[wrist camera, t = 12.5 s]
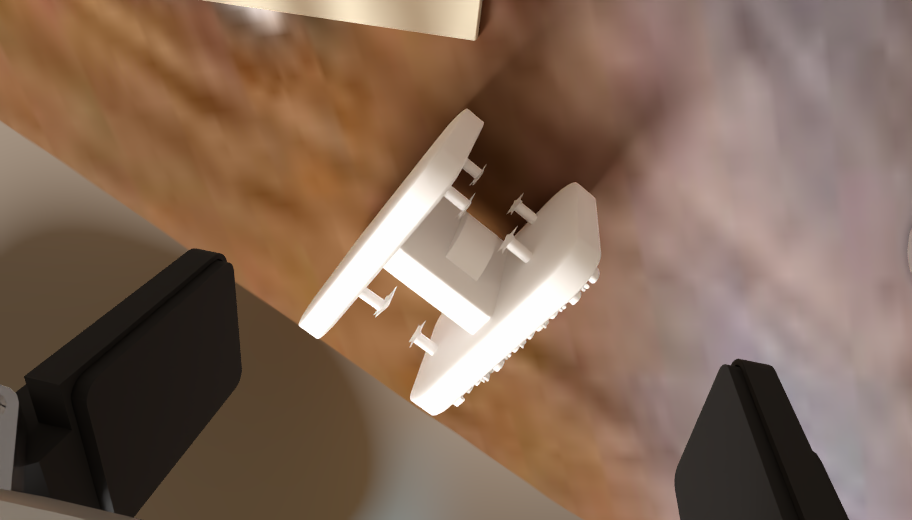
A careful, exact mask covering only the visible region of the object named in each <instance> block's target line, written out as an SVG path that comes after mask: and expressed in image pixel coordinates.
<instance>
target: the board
mask: <svg viewBox="0 0 912 520" xmlns="http://www.w3.org/2000/svg"><path fill="white" fill-rule="evenodd" d="M205 1H211V2H218V3H225V4H232V5H238V6H245V7H252V8H259V9H265V10H272V11H279V12H285V13H292V14H299V15H306V16H312V17H319V18H326V19H333V20H339V21H346V22H353V23H360V24H366V25H373V26H380V27H386V28H393V29H400V30H407V31H413V32H420V33H427V34H434V35H440V36H447V37H454V38H461V39H467V40H474V41H475V40H476V39H477V38H478V32H479V24H480V16H481V8H482V0H205Z"/></svg>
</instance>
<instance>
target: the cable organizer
mask: <svg viewBox="0 0 912 520" xmlns="http://www.w3.org/2000/svg"><path fill="white" fill-rule="evenodd" d="M483 125H484V122H483V121H482V120H481V119H479V118H478V117H477V116H476V115H475V114H473V113H472V112H471V111H470V110H469V109H465V110H463V111H462V112H461V113H460V114H458V115H457V116H456V117H455V118H454V119H453V121H452V122H451V123H450V124H449V125H448V126H447V127H446V128H445V130H444V131H443V132H442V133H441V135H440V136H439V137H438V138H437V140H436V141H435V142H434V143H433V145H432V146H431V147H430V148H429V150H428V151H427V152H426V153H425V155H424V156H423V157H422V159H421V160H420V161H419V162H418V164H417V165H416V166H415V167H414V169H413V170H412V171H411V172H410V174H409V175H408V176H407V177H406V179H405V180H404V181H403V183H402V184H401V185H400V186H399V188H398V189H397V190H396V191H395V193H394V194H393V195H392V196H391V198H390V199H389V200H388V201H387V203H386V204H385V205H384V207H383V208H382V209H381V210H380V212H379V213H378V214H377V215H376V217H375V218H374V219H373V220H372V222H371V223H370V224H369V225H368V227H367V228H366V229H365V231H364V232H363V233H362V234H361V236H360V237H359V238H358V239H357V241H356V242H355V243H354V245H353V246H352V247H351V249H350V250H349V252H348V253H347V254H346V256H345V257H344V258H343V260H342V261H341V262H340V264H339V265H338V266H337V268H336V269H335V270H334V272H333V273H332V275H331V276H330V277H329V279H328V280H327V281H326V283H325V284H324V285H323V287H322V288H321V289H320V291H319V292H318V293H317V295H316V296H315V298H314V299H313V300H312V302H311V303H310V305H309V306H308V308H307V309H306V311H305V312H304V314H303V316H302V318H301V320H300V322H299V326H300V327H301V328H303V329H304V330H305V331H307V332H308V333H310V334H311V335H313V336H314V337H315V338H317V339H319V338H321V337H322V336H323V335H325V334H326V333H327V332H328V331H329V330H330V329H331V328H332V327H333V326H334V325H335V323H336V322H337V321H338V320H339V319H340V318H341V316H342V315H343V314H344V313H345V312H346V311H347V309H348V308H349V307H350V306H351V305H352V304H353V302H354V301H355V300H356V299H357V298H358V297H360V298H361V299H362V300H364V301H365V302H367V303H368V304H370V305H371V306H372V307H374V308H375V309H377V311H376V312H375V313H374V315H375V314H376V313H377V314H376V316H378V315H379V314H380V313H381V312H382V311H383V310H385V309H386V308H387V307H388V306H389V304H390V302H391V299H392V297H393V295H394V292H395V290H396V288H395V289H394V290H393V291H392V292H391V293H390V295H388V296H386V298H385V299H384V300H383V299H382V298H381V297H379V296H378V295H376V294H375V293H374V292H372V291H371V290H369V289H368V288H367V286H368V285H369V284H370V282H371V281H372V280H373V279H374V278H375V277H376V275H377V274H378V273H379V272H380V271H381V270H382V268H384V269H386V270H387V271H388V272H389V273H390V274H392V275H393V276H394V277H395V278H397V279H398V280H400V281H401V282H402V283H404V284H405V285H406V286H408V287H409V288H410V289H412V290H413V291H414V292H416V293H417V294H418V295H420V296H421V297H422V298H424V299H425V300H426V301H428V303H430V304H432V305H433V306H434V307H436V308H437V309H438V310H440V311H441V312H442V314H441V315H440V317H439V319H438V321H437V323H436V325H435V328H434V331H433V333H432V336H431V339H429V338H427V337H426V336H425V335H423V334H422V333H421V329H422V327H423V325H424V324H425V322H426V321H425V322H424V323H423V324H422V325H421V326H418V328H417V329H416V331H415V333H414V334H413V336H412V338H411V339H410V341H409V342H411V341H412V342H411V345H412V344H413V342H414V343H415V344H417V345H418V346H419V347H421V348H422V349H424V350H425V351H426V353H425V355H424V358H423V361H422V364H421V367H420V369H419V372H418V375H417V378H416V380H415V383H414V386H413V389H412V391H411V395H410V399H411V401H413V402H414V403H415V404H417V405H418V406H420V407H421V408H422V409H424V410H425V411H427V412H428V413H429V414H431V415H437V414H440V413H442V412H443V411H445V410H446V409H447V408H449V407H450V406H451V405H452V404H454V405H455V406H457V407H458V406H459V405H460V404H461V403H462V402H463V401H464V400H465V398H463V395H464V394H465V393H466V392H467V393H470V392H471V390H472V389H473V386H474V385H476V386H478V385H479V384H480V382H481V381H482V382H483V383H484V382H485V380H486V381H489V377H490V373H492V372H493V371H494V370H495V371H496V372H498V371H499V370H500V369H501V368H502V367H503V365H504V362H505V359H506V360H507V359H508V357H511V352H512V351H513V352H514V353H515V352H516V351H517V350H518V349H519V347H522V348H524V344H525V343H526V339H527V338H528V339H531V338H532V337H533V335H534V333H535V331H536V330H537V331H540V330H541V329H542V328H543V327H544V328H546V325H547V324H548V323H549V321H548V319H549V318H551V319H554V318H555V317H556V315H557V313H558V311H560V312H562V309H565V308H566V305H565V304H566V303H568V302H570V303H571V304H572V305H574V304H575V303H577V302H578V301H579V299H580V297H581V291H580V290H582V291H583V292H584V291H585V288H586V289H588V288H589V285H588V284H587V281H588V280H589V281H590V282H591V283H595V282H596V281H597V279H598V278H599V269H598V268H597V266H598V264H599V261H600V258H601V248H600V237H599V227H598V216H597V206H596V199H595V197H594V196H592V195H591V194H590V193H589V192H588V191H586V190H585V189H584V188H583V187H582V186H581V185H579V184H578V183H577V182H573V183H571V184H569V185H567V186H565V187H564V188H563V189H561V190H560V191H559V192H558V193H556V194H555V195H554V196H553V197H552V198H551V199H550V200H549V201H548V202H547V203H546V204H545V205H544V206H543V207H542V208H541V209H540V210H539V211H538V212H537V213H536V214H535V213H534V212H533V211H532V210H530V209H529V208H528V207H527V206H525V205H524V204H523V203H522V200H521V198H522V196H523V194H524V193H523V194H522V195H521V196H520V197H519V198H518V199H517V200H514V203H513V205H512V206H511V208H510V209H509V211H508V213H509V212H511V215H512V213H513V211H515V212H517V213H518V214H519V215H520V216H521V217H523V218H524V219H525V220H526V221H528V223H527V224H526V225H525V226H524V227H523V228H522V229H521V230H520V231H519V232H518V233H517V234H516V235H515V236H514V235H513V234H514V232H515V230H516V228H517V227H516V228H515V229H514V230H513V231H512V232H511V233H510V234H507V235H506V238H505V240H504V241H503V240H502V239H500V238H499V237H498V236H497V235H496V234H495V233H493V232H492V231H490V230H489V229H488V228H487V227H485V226H484V225H483V224H482V223H480V222H479V221H478V220H477V219H475V218H474V217H473V216H472V215H470V214H469V213H468V212H467V211H466V210H467V209H468V207H469V206H470V204H471V201H472V199H473V197H474V195H475V193H474V195H473V196H472V197H471V198H470V200H468V199H467V198H466V197H465V196H463V195H462V194H461V193H460V192H458V191H457V190H456V189H455V188H453V187H452V184H453V183H454V181H455V180H456V178H457V177H458V175H459V173H460V171H461V170H462V169H464V170H465V171H466V172H467V173H469V174H470V175H471V176H472V177H474V178H475V179H474V180H473V181H472V183H473V185H474V184H475V182H476V181H477V180H478V179H479V178H480V177H481V175H482V174H483V172H484V168H485V166H486V165H485V166H484V167H483V169H480V168H479V167H478V166H477V165H475V164H474V163H473V162H472V161H471V160H469V159H468V156H469V154H470V152H471V150H472V148H473V146H474V144H475V142H476V140H477V138H478V136H479V134H480V132H481V130H482V128H483ZM472 183H471V184H472ZM471 184H470V185H471ZM470 185H469V186H470ZM473 185H472V186H473ZM508 213H507V214H508ZM507 214H506V215H507ZM396 287H397V286H396ZM376 316H375V317H376ZM411 345H410V347H411Z"/></svg>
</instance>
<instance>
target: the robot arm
mask: <svg viewBox="0 0 912 520" xmlns="http://www.w3.org/2000/svg"><path fill="white" fill-rule="evenodd" d="M907 254H908V263H909V268H910V271H911V273H912V228H911V231H910V234H909V241H908V249H907ZM241 372H242V366H241V353H240V341H239V328H238V317H237V303H236V291H235V278H234V269H233V266H232V264H231V263H228V262H227V260H226V258H225V256H224V255H223V254H220V253H216V252H211V251H206V250H201V249H191V250H189V251H187V252H186V253H185V254H183V255H182V256H181V257H180V258H178V259H177V260H176V261H174V262H173V263H172V264H171V265H169V266H168V267H166V268H165V269H164V270H162V271H161V272H160V273H159V274H157V275H156V276H155V277H153V278H152V279H151V280H149V281H148V282H147V283H146V284H144V285H143V286H142V287H140V288H139V289H138V290H136V291H135V292H134V293H132V294H131V295H130V296H128V297H127V298H126V299H125V300H124V301H122V302H121V303H119V304H118V305H117V306H115V307H114V308H113V309H112V310H110V311H109V312H108V313H106V314H105V315H104V316H102V317H101V318H100V319H98V320H97V321H96V322H95V323H93V324H92V325H91V326H89V327H88V328H87V329H85V330H84V331H83V332H81V333H80V334H79V335H78V336H76V337H75V338H74V339H72V340H71V341H70V342H68V343H67V344H66V345H64V346H63V347H62V348H61V349H59V350H58V351H57V352H55V353H54V354H53V355H51V356H50V357H49V358H47V359H46V360H45V361H44V362H42V363H41V364H40V365H38V366H37V367H36V368H34V369H33V370H32V371H30V372H29V373H28V374H27V375H25V376H24V378H25V381H26V385H25V386H23V387H22V388H21V389H19V390H18V391H17V392H16V393H15V392H14V391H13V390H11V389H10V388H8V387H5V386H2V385H0V520H141V519H137V518H134V516H135V515H136V514H137V513H138V511H139V510H140V508H141V507H142V506H143V505H144V504H145V502H146V501H147V500H148V499H149V497H150V496H151V495H152V493H153V492H154V491H155V490H156V488H157V487H158V486H159V485H160V483H161V482H162V481H163V480H164V478H165V477H166V476H167V474H168V473H169V472H170V471H171V469H172V468H173V467H174V466H175V464H176V463H177V462H178V460H179V459H180V458H181V456H182V455H183V454H184V453H185V451H186V450H187V449H188V448H189V446H190V445H191V444H192V443H193V441H194V440H195V439H196V438H197V436H198V435H199V434H200V433H201V431H202V430H203V429H204V428H205V426H206V425H207V424H208V422H209V421H210V420H211V419H212V417H213V416H214V415H215V414H216V412H217V411H218V410H219V409H220V407H221V406H222V405H223V403H224V402H225V401H226V400H227V398H228V397H229V396H230V395H231V393H232V392H233V391H234V389H235V388H236V386H237V385H238V383H239V381H240V377H241ZM675 492H676V498H677V503H678V509H679V515H680V520H849V519H848V517H847V514H846V512H845V510H844V508H843V506H842V504H841V502H840V500H839V498H838V495H837V493H836V491H835V489H834V487H833V485H832V483H831V481H830V479H829V476H828V474H827V472H826V470H825V468H824V466H823V464H822V462H821V460H820V458H819V457H818V455H817V454H816V453H815V452H813V451H812V449H811V447H810V444H809V442H808V440H807V438H806V436H805V434H804V431H803V429H802V427H801V425H800V423H799V421H798V419H797V416H796V414H795V412H794V410H793V408H792V406H791V404H790V401H789V399H788V397H787V395H786V393H785V391H784V389H783V386H782V384H781V382H780V380H779V378H778V376H777V373H776V371H775V370H774V368H773V367H772V366H770V365H766V364H761V363H757V362H752V361H747V360H742V359H736V360H735V361H734V362H733V363H732V364H731V365H726V364H724V365H722V366H721V368H720V369H719V371H718V374H717V376H716V378H715V381H714V383H713V385H712V388H711V390H710V392H709V395H708V397H707V399H706V401H705V404H704V406H703V408H702V411H701V413H700V415H699V418H698V420H697V422H696V425H695V427H694V429H693V431H692V434H691V436H690V438H689V441H688V443H687V445H686V448H685V450H684V452H683V455H682V457H681V459H680V462H679V464H678V466H677V469H676V473H675Z"/></svg>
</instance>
